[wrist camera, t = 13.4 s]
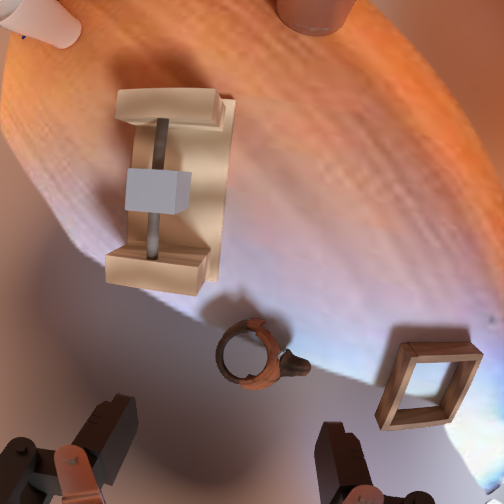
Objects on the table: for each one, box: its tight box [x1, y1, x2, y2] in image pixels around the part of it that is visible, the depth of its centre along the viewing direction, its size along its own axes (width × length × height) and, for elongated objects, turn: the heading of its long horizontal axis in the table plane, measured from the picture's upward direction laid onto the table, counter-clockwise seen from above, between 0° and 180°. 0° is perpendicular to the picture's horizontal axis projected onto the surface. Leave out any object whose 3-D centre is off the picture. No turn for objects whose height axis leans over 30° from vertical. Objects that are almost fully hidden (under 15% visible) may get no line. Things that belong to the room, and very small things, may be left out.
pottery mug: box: [216, 318, 311, 390], centre depth 39 cm, size 12×10×8 cm
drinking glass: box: [0, 0, 82, 49], centre depth 25 cm, size 7×7×15 cm
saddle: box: [125, 168, 192, 215], centre depth 31 cm, size 4×5×6 cm
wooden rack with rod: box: [105, 88, 236, 296], centre depth 33 cm, size 22×12×9 cm, turn 174°
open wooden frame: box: [375, 342, 484, 431], centre depth 41 cm, size 14×14×4 cm
